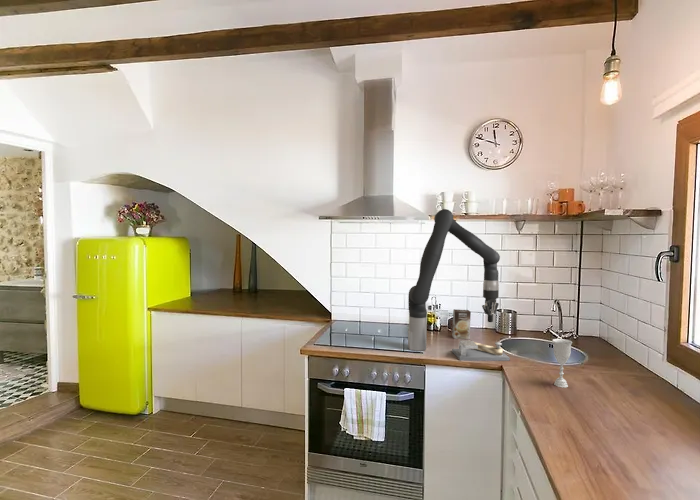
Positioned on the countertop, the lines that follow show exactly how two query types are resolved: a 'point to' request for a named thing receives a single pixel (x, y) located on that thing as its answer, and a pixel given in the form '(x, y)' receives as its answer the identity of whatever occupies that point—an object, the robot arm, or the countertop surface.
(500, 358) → the hinge plate
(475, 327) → the countertop surface
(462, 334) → the coffee box
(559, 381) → the chalice
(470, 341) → the keeper
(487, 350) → the link
